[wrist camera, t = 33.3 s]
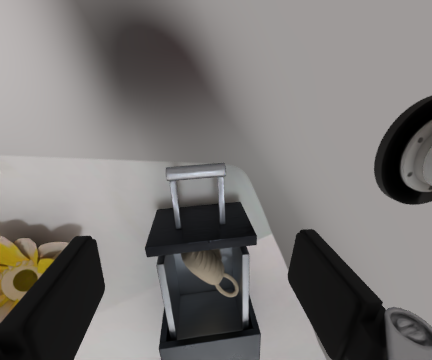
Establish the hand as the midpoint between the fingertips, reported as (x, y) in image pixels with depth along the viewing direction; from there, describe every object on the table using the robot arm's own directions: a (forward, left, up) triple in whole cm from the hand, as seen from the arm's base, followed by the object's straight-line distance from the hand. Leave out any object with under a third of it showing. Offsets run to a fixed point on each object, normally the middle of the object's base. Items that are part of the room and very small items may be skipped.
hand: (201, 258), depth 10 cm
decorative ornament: (+14, 0, -16) cm, 21 cm away
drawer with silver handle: (+11, 0, -17) cm, 20 cm away
